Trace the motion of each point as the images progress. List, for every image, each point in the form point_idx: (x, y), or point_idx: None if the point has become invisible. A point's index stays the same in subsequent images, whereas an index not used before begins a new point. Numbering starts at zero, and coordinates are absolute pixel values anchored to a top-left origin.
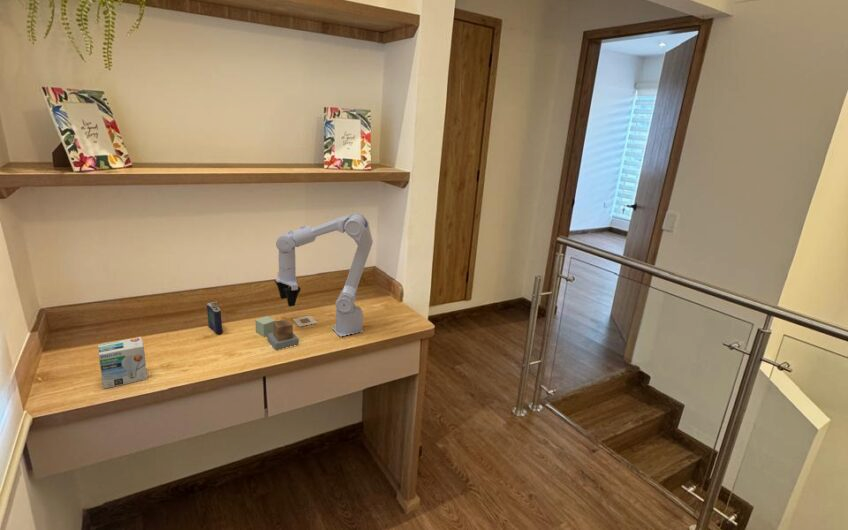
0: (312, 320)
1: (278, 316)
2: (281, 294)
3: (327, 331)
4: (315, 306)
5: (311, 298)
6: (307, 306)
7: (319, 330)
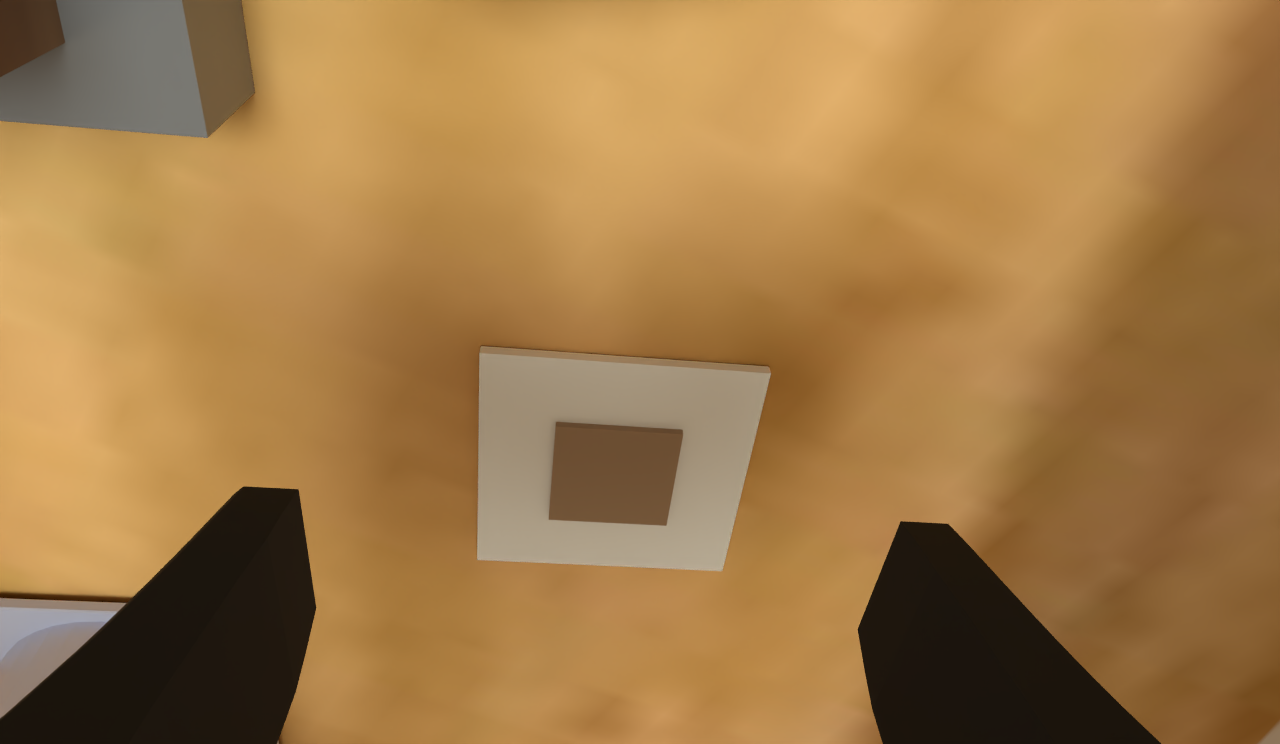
0: (568, 541)
1: (1024, 250)
2: (955, 643)
3: None
4: None
5: None
6: None
7: None
